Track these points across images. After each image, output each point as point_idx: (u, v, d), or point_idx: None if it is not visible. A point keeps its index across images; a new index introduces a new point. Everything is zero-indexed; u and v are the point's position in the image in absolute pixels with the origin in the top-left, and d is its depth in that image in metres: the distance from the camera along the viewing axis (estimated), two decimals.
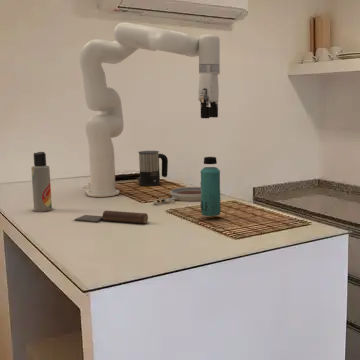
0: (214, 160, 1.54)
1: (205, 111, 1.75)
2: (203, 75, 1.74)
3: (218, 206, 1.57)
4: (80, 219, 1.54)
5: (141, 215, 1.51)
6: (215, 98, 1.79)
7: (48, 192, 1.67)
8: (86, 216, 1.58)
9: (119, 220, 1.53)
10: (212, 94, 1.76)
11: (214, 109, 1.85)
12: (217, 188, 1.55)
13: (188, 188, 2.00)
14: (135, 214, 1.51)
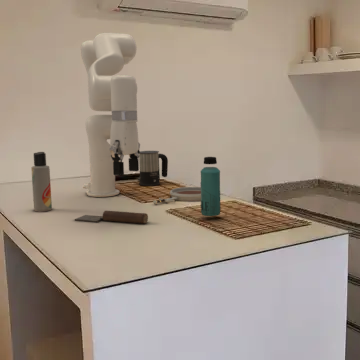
0: (214, 160, 1.54)
1: (118, 167, 1.46)
2: (115, 124, 1.45)
3: (218, 206, 1.57)
4: (80, 219, 1.54)
5: (141, 215, 1.51)
6: (132, 150, 1.50)
7: (48, 192, 1.67)
8: (86, 216, 1.58)
9: (119, 220, 1.53)
10: (127, 146, 1.47)
11: (134, 161, 1.55)
12: (217, 188, 1.55)
13: (188, 188, 2.00)
14: (135, 214, 1.51)
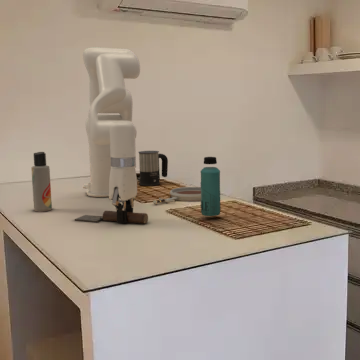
0: (214, 160, 1.54)
1: (121, 215, 1.50)
2: (114, 171, 1.47)
3: (218, 206, 1.57)
4: (80, 219, 1.54)
5: (141, 215, 1.51)
6: (131, 195, 1.52)
7: (48, 192, 1.67)
8: (86, 216, 1.58)
9: None
10: (125, 193, 1.48)
11: (128, 211, 1.54)
12: (217, 188, 1.55)
13: (188, 188, 2.00)
14: (135, 214, 1.51)
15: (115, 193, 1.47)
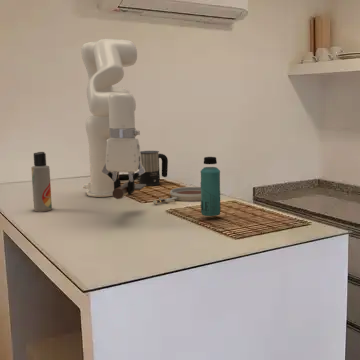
0: (214, 160, 1.54)
1: None
2: None
3: (218, 206, 1.57)
4: None
5: (115, 189, 1.46)
6: (122, 168, 1.49)
7: (48, 192, 1.67)
8: (139, 184, 1.67)
9: None
10: (111, 163, 1.49)
11: None
12: (217, 188, 1.55)
13: (188, 188, 2.00)
14: None
15: None
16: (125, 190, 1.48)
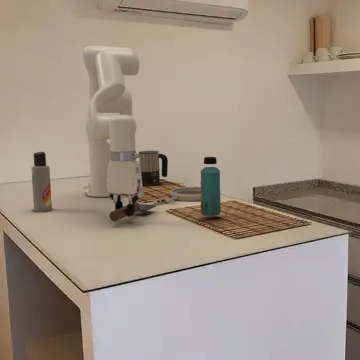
0: (214, 160, 1.54)
1: None
2: None
3: (218, 206, 1.57)
4: None
5: None
6: (121, 190, 1.50)
7: (48, 192, 1.67)
8: (149, 205, 1.67)
9: None
10: (111, 185, 1.50)
11: None
12: (217, 188, 1.55)
13: (188, 188, 2.00)
14: (116, 209, 1.49)
15: None
16: (123, 212, 1.49)
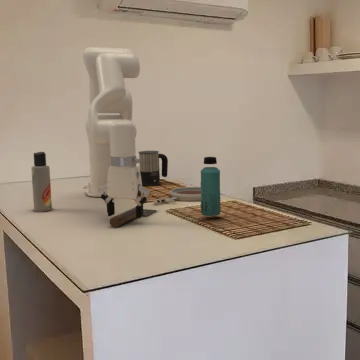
0: (214, 160, 1.54)
1: None
2: None
3: (218, 206, 1.57)
4: None
5: None
6: (121, 195, 1.50)
7: (48, 192, 1.67)
8: (149, 210, 1.67)
9: None
10: (111, 190, 1.51)
11: None
12: (217, 188, 1.55)
13: (188, 188, 2.00)
14: (116, 215, 1.50)
15: None
16: (123, 218, 1.49)
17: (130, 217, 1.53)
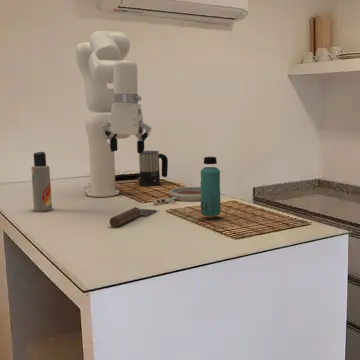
0: (214, 160, 1.54)
1: None
2: None
3: (218, 206, 1.57)
4: None
5: None
6: (123, 131, 1.60)
7: (48, 192, 1.67)
8: (149, 210, 1.67)
9: None
10: (114, 126, 1.60)
11: None
12: (217, 188, 1.55)
13: (188, 188, 2.00)
14: (116, 215, 1.50)
15: None
16: (123, 218, 1.49)
17: (130, 217, 1.53)
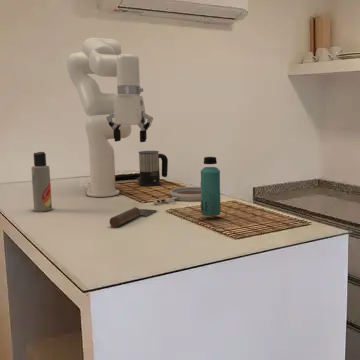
0: (214, 160, 1.54)
1: None
2: None
3: (218, 206, 1.57)
4: None
5: None
6: (127, 121, 1.68)
7: (48, 192, 1.67)
8: (149, 210, 1.67)
9: None
10: (118, 117, 1.68)
11: None
12: (217, 188, 1.55)
13: (188, 188, 2.00)
14: (116, 215, 1.50)
15: None
16: (123, 218, 1.49)
17: (130, 217, 1.53)
